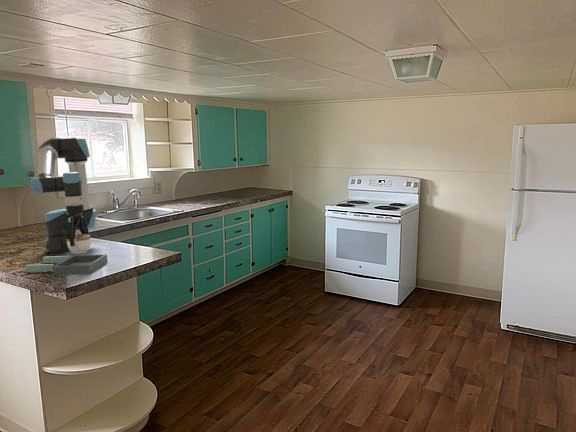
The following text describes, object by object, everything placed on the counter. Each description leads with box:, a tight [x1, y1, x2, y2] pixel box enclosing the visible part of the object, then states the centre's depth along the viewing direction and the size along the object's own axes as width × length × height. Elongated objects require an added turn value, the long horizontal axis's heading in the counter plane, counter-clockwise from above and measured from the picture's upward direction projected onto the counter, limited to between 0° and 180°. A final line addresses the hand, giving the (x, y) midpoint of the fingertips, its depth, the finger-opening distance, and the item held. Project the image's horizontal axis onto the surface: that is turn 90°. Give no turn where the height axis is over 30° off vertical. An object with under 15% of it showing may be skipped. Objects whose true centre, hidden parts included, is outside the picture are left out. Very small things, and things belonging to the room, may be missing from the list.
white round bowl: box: [66, 232, 92, 255], centre depth 217 cm, size 11×11×9 cm
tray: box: [52, 253, 108, 276], centre depth 218 cm, size 17×21×4 cm
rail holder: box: [25, 255, 71, 273], centre depth 222 cm, size 13×17×4 cm
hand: (79, 249), depth 217 cm, fingers closed on white round bowl, 11 cm apart
